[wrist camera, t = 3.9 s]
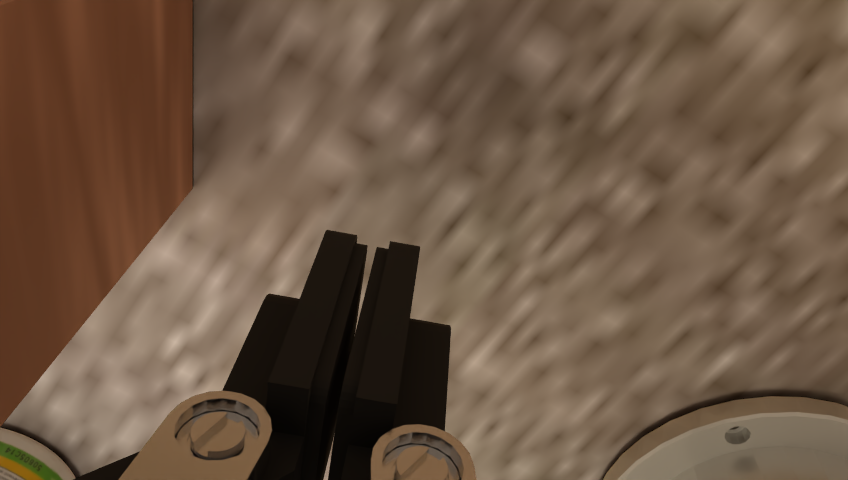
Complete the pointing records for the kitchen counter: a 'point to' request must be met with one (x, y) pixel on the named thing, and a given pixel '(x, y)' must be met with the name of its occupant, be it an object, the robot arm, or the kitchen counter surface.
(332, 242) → the robot arm
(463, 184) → the kitchen counter surface
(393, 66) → the kitchen counter surface
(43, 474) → the supplement bottle
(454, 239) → the kitchen counter surface
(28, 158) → the slab
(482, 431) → the kitchen counter surface
